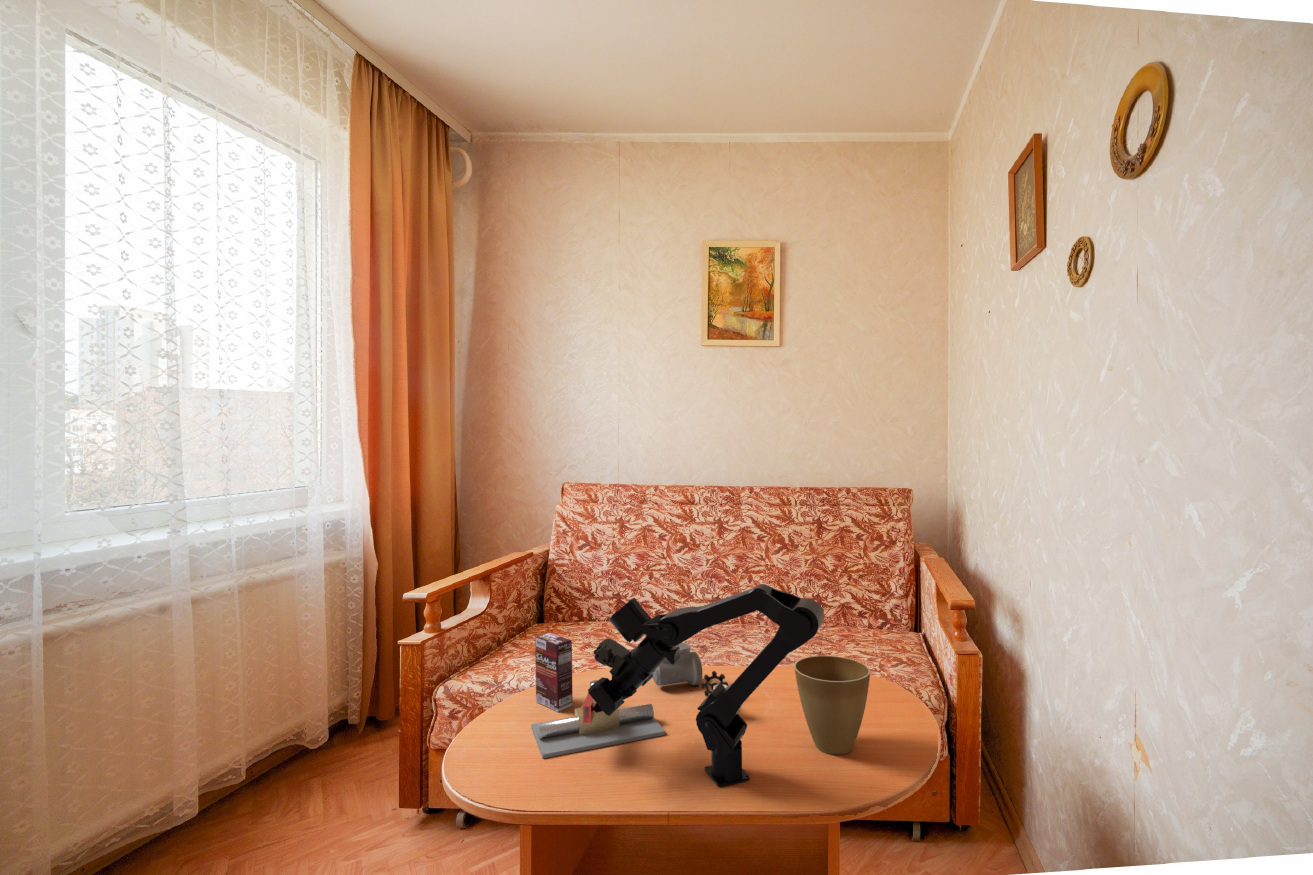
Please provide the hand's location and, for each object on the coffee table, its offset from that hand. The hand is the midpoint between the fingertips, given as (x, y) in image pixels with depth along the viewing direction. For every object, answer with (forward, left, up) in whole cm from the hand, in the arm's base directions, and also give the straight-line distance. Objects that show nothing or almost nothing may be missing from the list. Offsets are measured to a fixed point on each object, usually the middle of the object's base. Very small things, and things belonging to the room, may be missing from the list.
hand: (597, 708), depth 127 cm
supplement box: (+24, +4, -8) cm, 26 cm away
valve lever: (+2, 0, -1) cm, 3 cm away
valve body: (+7, -2, -8) cm, 11 cm away
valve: (+8, -31, -8) cm, 33 cm away
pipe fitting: (+23, -27, -8) cm, 36 cm away
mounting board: (+7, -2, -8) cm, 11 cm away
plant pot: (-17, -45, -8) cm, 48 cm away
